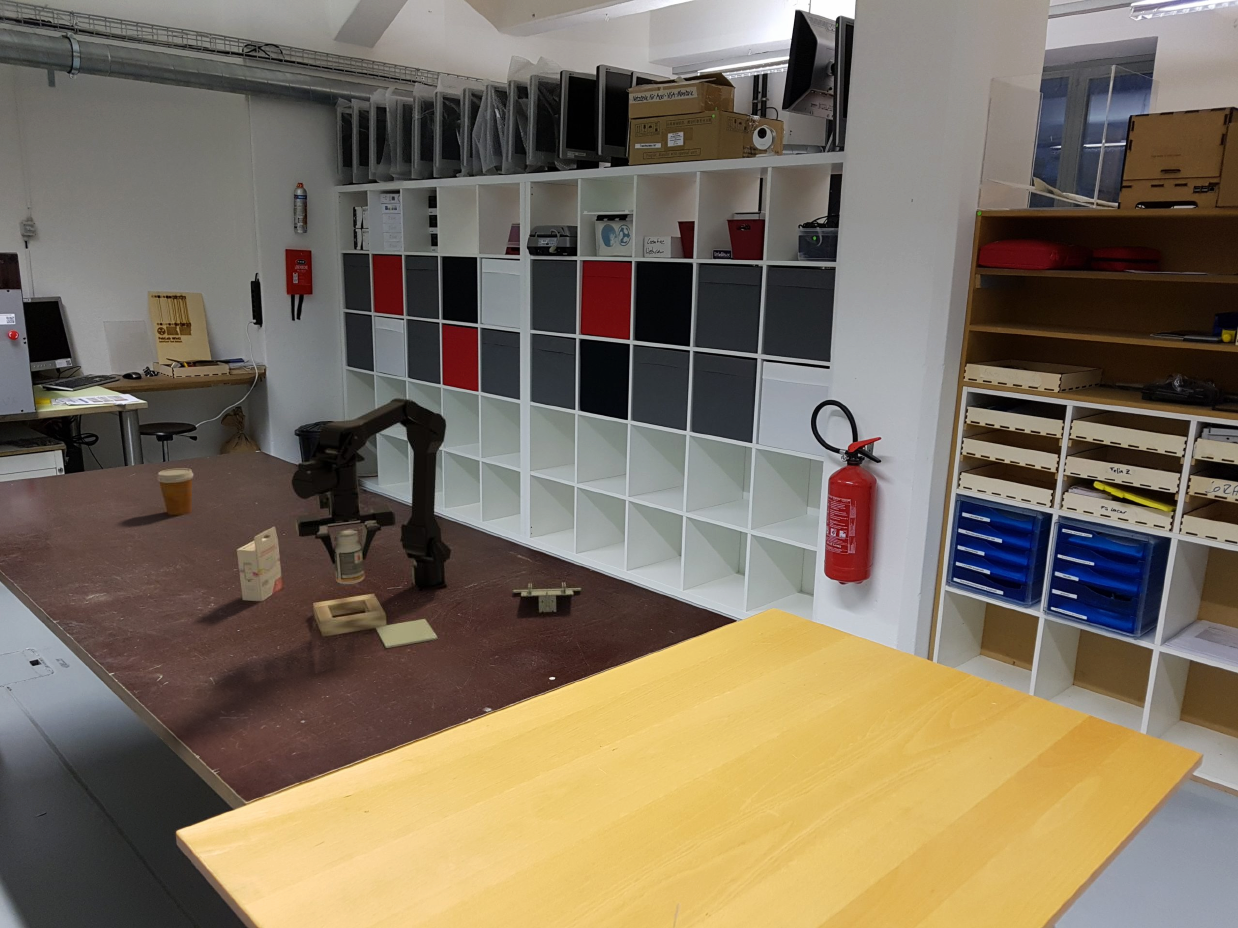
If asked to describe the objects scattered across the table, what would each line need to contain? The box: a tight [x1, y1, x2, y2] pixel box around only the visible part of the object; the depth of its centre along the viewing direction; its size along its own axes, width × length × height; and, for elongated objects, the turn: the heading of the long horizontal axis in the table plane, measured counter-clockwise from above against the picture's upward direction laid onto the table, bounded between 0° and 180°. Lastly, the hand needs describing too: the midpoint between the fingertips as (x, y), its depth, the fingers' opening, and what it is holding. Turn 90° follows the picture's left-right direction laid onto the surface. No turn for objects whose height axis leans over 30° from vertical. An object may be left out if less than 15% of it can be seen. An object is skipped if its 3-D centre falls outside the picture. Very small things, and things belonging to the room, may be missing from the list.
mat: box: [375, 618, 438, 649], centre depth 185 cm, size 10×10×1 cm
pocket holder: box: [312, 593, 387, 637], centre depth 191 cm, size 12×12×2 cm
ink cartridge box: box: [236, 526, 283, 602], centre depth 204 cm, size 9×5×15 cm, turn 168°
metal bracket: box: [512, 582, 582, 613], centre depth 202 cm, size 14×6×15 cm
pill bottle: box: [333, 529, 365, 585], centre depth 188 cm, size 6×6×10 cm
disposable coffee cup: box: [156, 467, 194, 516], centre depth 266 cm, size 10×10×12 cm
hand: (348, 561), depth 188 cm, fingers closed on pill bottle, 6 cm apart
